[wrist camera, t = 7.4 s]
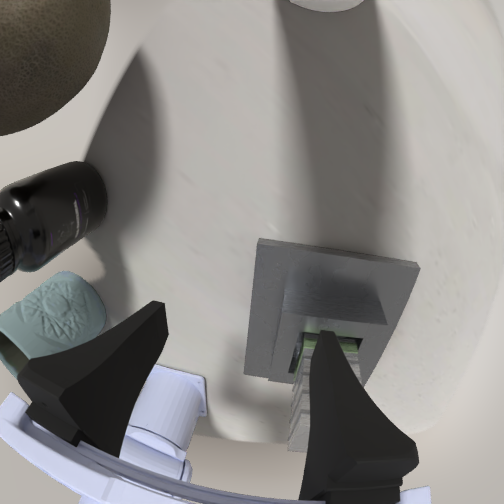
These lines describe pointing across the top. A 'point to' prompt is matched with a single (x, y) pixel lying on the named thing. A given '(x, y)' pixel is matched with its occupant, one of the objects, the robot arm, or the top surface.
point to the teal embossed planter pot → (50, 320)
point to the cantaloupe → (47, 56)
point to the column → (301, 389)
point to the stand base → (322, 304)
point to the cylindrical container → (327, 4)
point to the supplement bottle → (48, 215)
